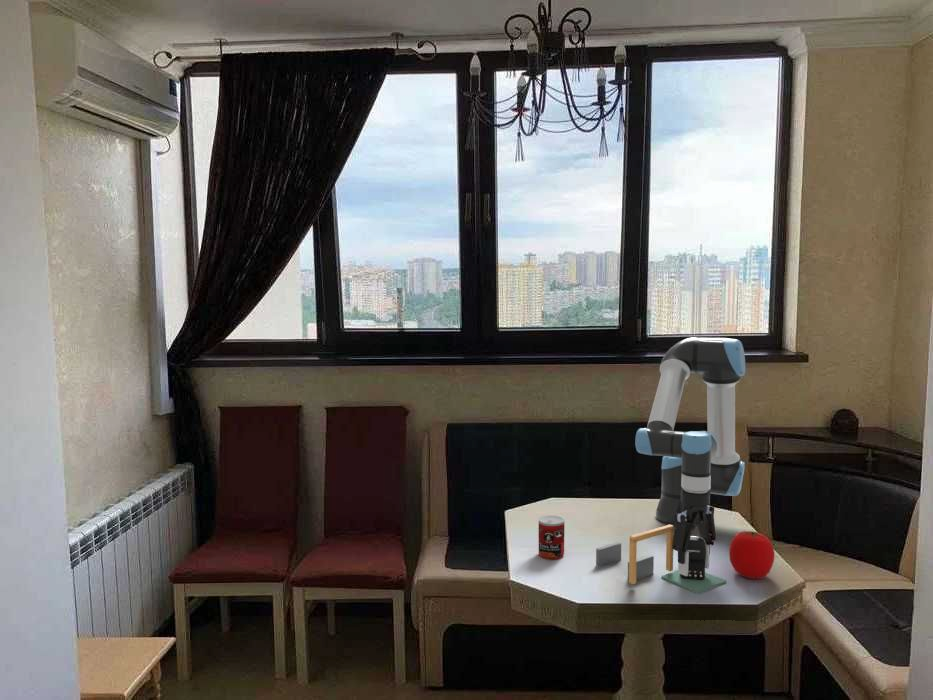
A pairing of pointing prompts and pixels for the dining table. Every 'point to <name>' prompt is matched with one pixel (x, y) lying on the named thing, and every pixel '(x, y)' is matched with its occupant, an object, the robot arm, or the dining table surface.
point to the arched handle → (644, 535)
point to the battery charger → (696, 558)
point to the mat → (694, 582)
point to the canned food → (551, 537)
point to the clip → (614, 554)
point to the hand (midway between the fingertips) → (693, 570)
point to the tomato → (751, 554)
